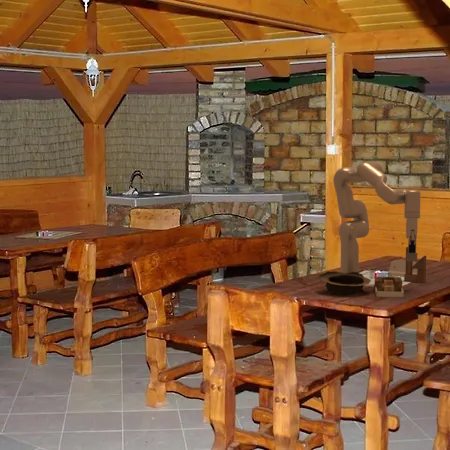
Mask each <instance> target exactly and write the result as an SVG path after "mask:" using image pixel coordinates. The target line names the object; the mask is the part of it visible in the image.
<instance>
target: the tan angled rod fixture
mask: <svg viewBox="0 0 450 450" xmlns="http://www.w3.org/2000/svg"><path fill="white" fill-rule="evenodd" d="M407 253H408V246H406V247H405V260H407ZM412 268H413V269H417V275H416V274H412ZM426 278H427V255H423V256H422V257H421V258H420V259H419V260H417V261H416V264H415V265H414V266H413V261H406V271H405V274H404V277H403V281H404V282H408V283H409V282H410V283H419V284H420V283H421V284H424V283H426V282H427V281H426V280H427V279H426Z"/></svg>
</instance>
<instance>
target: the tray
mask: <svg viewBox="0 0 450 450" xmlns="http://www.w3.org/2000/svg"><path fill="white" fill-rule="evenodd" d="M374 294H375V298H376V297H378V298H404V297H405V292H404V288H403V287H402V288H401V292H384V291H377V287H375V288H374Z"/></svg>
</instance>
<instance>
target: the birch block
mask: <svg viewBox="0 0 450 450" xmlns="http://www.w3.org/2000/svg"><path fill="white" fill-rule="evenodd" d="M393 288H394V287H393V286H391V285H385V292H393Z"/></svg>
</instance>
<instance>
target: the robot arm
mask: <svg viewBox="0 0 450 450" xmlns="http://www.w3.org/2000/svg"><path fill="white" fill-rule="evenodd" d="M333 175H334V176H333V186H334V189H335V195H336V201H337V207H338V212H339V213H338V214H339V216H340V217H341V218H342V219H352V220H346V221H344V222H342V223H341V224H340V225H339V228H338V235H339V239H340V271H339V272H340V273H351V272H358V273H360V272H359V271H360V270H359V269H360V263H359V262H360V258H359V257H360V246H359V243H358V240H357V239H361V238H365V237H367V236H368V235H369V232H370V223H369V215H368V211H367V209H368V208H367V206H366V204H365V203H364V202H363V201H362V200H359V199H355V198H354V194H353V190H352V188H351V187H350V185H349V184H355V183H356V184H358V183H364V182H366V183H368V184H369V185H370V186H371V187H373V188H374V191H375V194H376V195H377V196H378V198H380V199H381V200H383V201H384V202H385V203H387V204H388V205H404V216H403V217H404V219H406V221H405V237H406V239H408V240H409V253H415V248H416V249H417V244H416V245H415V239H416V240H417V238H418V226H419V225H418V224H419V223H418V222H419V221H418V220H419V219H421V190H419V189H407V188H396V189H395V188H393V189H392V188H391V187H389V186H388V185H387V182H388V176H387V175H386V174H385V173H384V169H383V165H381V164H380V162H378V161H362V162H361V163H359V164H358V165H357V166H345V167H341V168H338V169H337V170H336V172H335V173H334V174H333ZM415 236H416V237H415ZM410 237H411V238H410Z"/></svg>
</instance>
